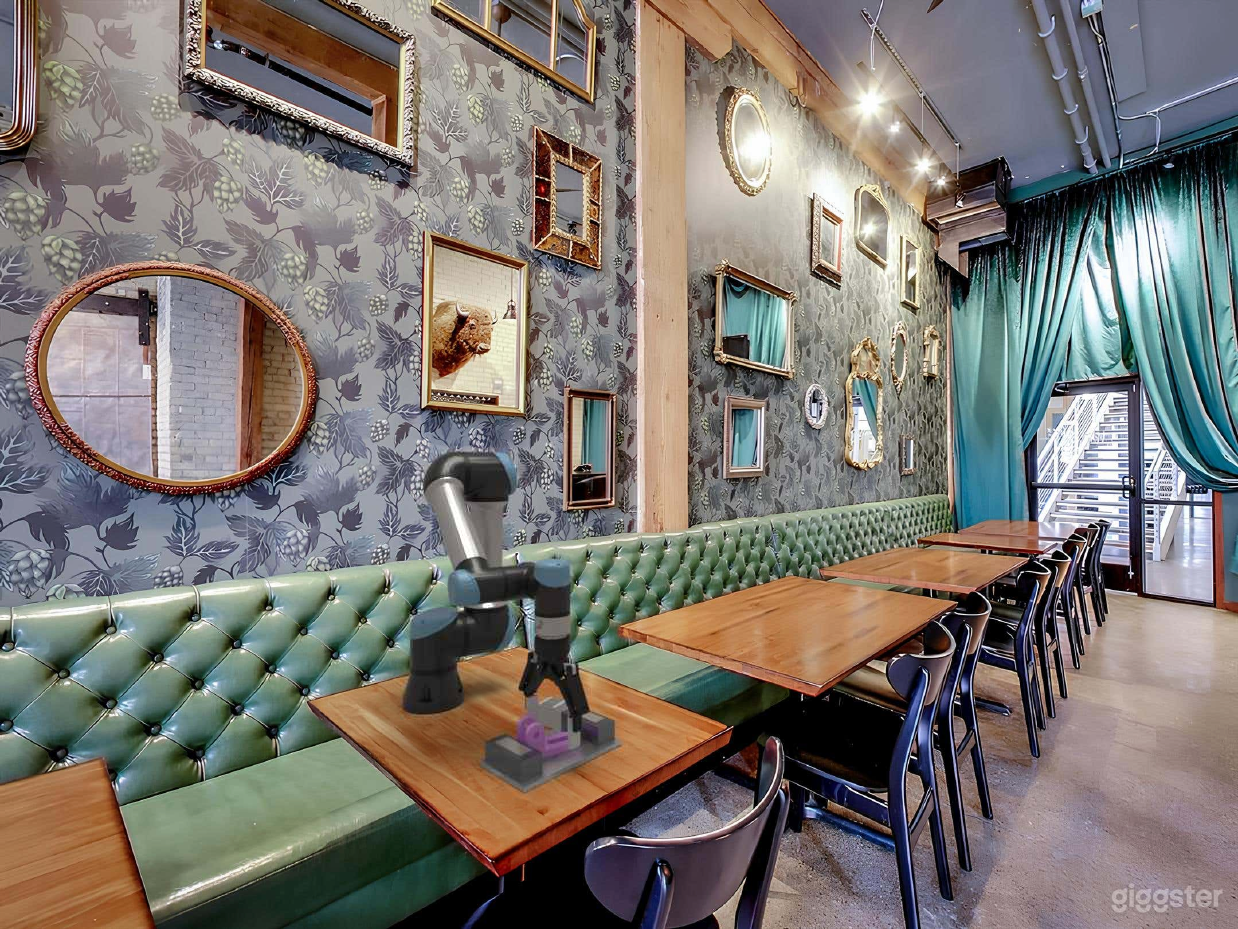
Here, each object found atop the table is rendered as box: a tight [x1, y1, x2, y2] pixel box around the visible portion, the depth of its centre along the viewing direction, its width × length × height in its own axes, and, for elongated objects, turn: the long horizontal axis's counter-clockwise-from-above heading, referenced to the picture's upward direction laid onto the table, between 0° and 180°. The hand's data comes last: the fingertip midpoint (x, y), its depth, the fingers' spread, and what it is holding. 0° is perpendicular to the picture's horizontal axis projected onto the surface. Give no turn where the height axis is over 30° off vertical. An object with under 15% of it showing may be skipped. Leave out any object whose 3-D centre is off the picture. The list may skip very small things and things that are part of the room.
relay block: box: [538, 696, 568, 730], centre depth 137 cm, size 5×5×5 cm
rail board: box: [478, 708, 622, 794], centre depth 121 cm, size 15×26×5 cm, turn 136°
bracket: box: [516, 714, 580, 758], centre depth 121 cm, size 13×6×7 cm, turn 123°
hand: (552, 736), depth 121 cm, fingers open, 13 cm apart
